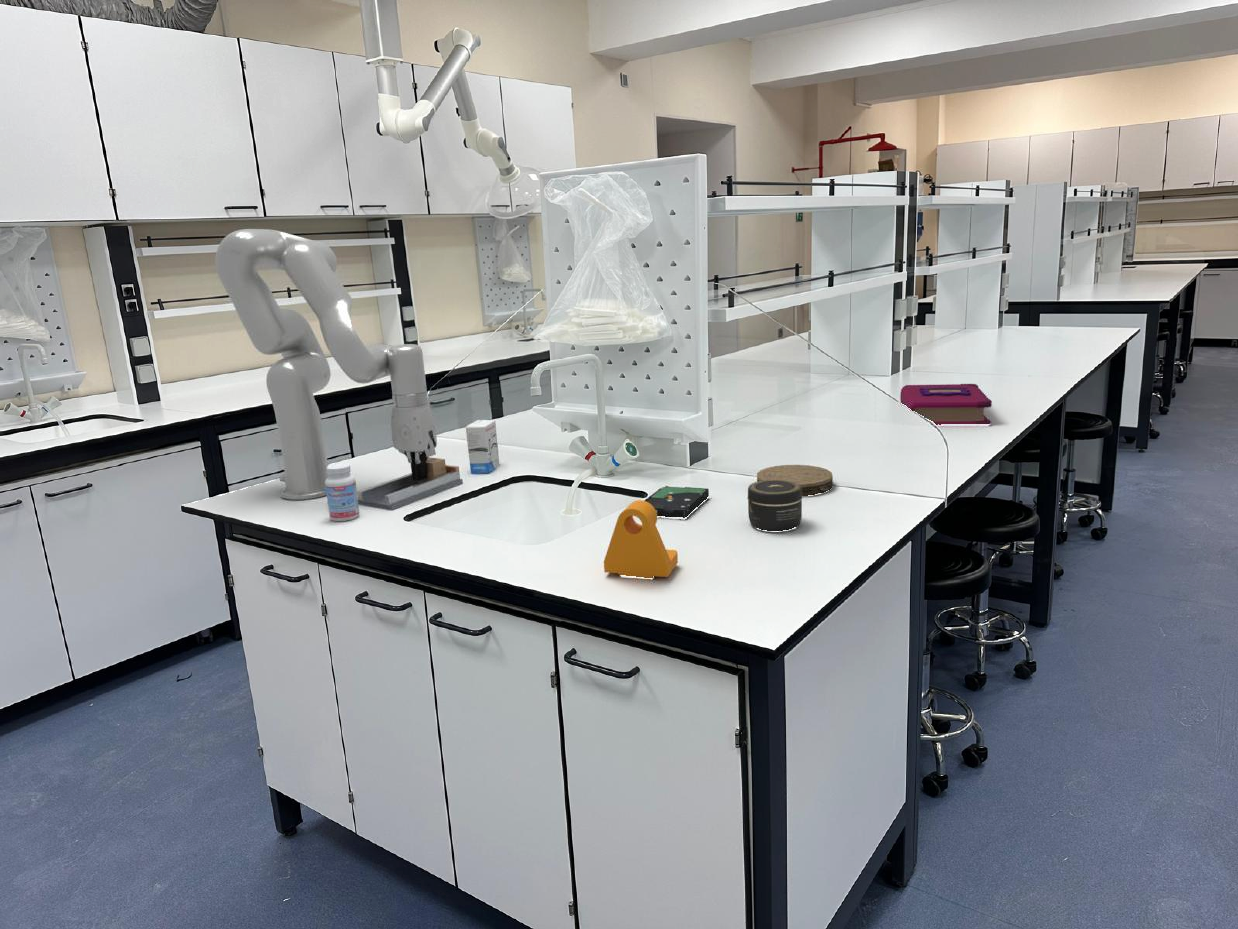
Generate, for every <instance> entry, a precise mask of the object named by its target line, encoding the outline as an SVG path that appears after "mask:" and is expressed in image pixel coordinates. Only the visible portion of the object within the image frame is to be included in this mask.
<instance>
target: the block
mask: <svg viewBox="0 0 1238 929" xmlns="http://www.w3.org/2000/svg"><path fill="white" fill-rule="evenodd" d="M446 465H447V464H446V459H445V458H437V457H431V456H429V457H428V461H426V468H427V478H426V479H423V480H420V481H416V482H421V483H422V482H424V481H427V480H430V479H433V478H435V477H438V476H441V475H444V474H446Z"/></svg>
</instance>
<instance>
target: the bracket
mask: <svg viewBox="0 0 1238 929" xmlns="http://www.w3.org/2000/svg"><path fill="white" fill-rule="evenodd" d="M634 517H636V518H637V519H639V520H640V522H641V524H639V523H638V522H637V521H636V520H635V519H634ZM657 522H658V518H657V512H656V510H655V508H654V507H653V506H652V505H651V504H650V503H648V502H646V501H644V500H642V499H639V500H634V501H633V502H631V503H630V504H629V505H627V507H626V508H625V509H624V510H623V511H622V512H621V513H620V514H619V515H618V517H617V520H616V523H615V526H614V528H613V533H612V536H611V537H610V541H609V545H608V547H607V551H606V552H605V553H606V554H605V556H604V560H603V569H604V571H603V572H604V573H609V574H618V575H626V576H636V577H644V578H653V576H655V577H663V578H668V577H669V576H670V575H671V573H672V572H673V571H674V569H675V568H676V566H677V564H678V563H679V561H678V560H679V559H678V551H677V550H675V549H666V547H665V544H664V541H663V539H662V537H661V534H660V533H659V530H658V527H657V525H656V524H657Z"/></svg>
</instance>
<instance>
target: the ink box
mask: <svg viewBox="0 0 1238 929" xmlns="http://www.w3.org/2000/svg"><path fill="white" fill-rule="evenodd" d="M465 433H466V442H467V449H468V450H467V451H468V460H469V467H470V468H469V469H470V474H473V475H474V474H490V473H492V472H493V471H494V470H495V469H497V468H498V467H499V466H501V465H500V457H499V447H498V437H497V425H496V420H495V419H477V420H475V421H473V422H471V423H469V424H468V425H466V427H465Z"/></svg>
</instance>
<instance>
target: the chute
mask: <svg viewBox="0 0 1238 929" xmlns="http://www.w3.org/2000/svg"><path fill="white" fill-rule="evenodd" d="M463 483H464V482H463V479H462V478H461V475H460V466H457V465H449V464H446V474H444V475H441V476H438V477H435V478H433V479H430V480H427V481H424V482H422V483H421V482H416V480H413V479H412V472H411V473H408V474H405V475H402V476H399V477H396V478H394V479H390V480H387V481H384V482H381V483H379V484H376V485H373V486H371V487H367V488H363V489H361V490H358V491H357V497H358V505H359V504H360V506H365V507H372V508H377V509H383V510H387V511H388V510H389V511H395V510H397V509H400V508H402V507H406V506H407V505H410V504H413V503H415V502H419V501H420V500H423V499H425V498H428V497H431V496H433V495H436V494H439V493H442V492H444V491H446V490H449V489H451V488H454V487H457V486H460V485H462V484H463Z"/></svg>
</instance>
